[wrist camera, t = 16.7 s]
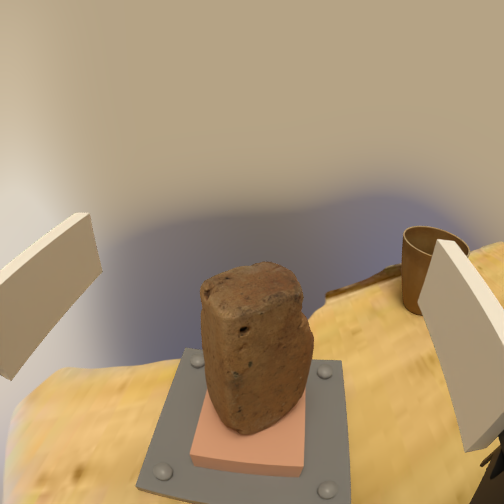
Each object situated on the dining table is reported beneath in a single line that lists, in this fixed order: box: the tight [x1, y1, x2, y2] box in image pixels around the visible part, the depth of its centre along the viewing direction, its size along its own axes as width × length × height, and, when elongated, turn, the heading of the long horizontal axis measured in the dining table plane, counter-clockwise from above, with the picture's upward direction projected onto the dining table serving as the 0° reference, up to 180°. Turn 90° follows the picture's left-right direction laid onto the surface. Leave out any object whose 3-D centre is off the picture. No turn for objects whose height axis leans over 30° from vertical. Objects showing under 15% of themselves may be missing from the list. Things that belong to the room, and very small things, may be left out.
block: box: [200, 262, 314, 435], centre depth 32 cm, size 11×8×20 cm
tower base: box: [136, 348, 351, 504], centre depth 38 cm, size 26×26×6 cm
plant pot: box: [402, 226, 470, 315], centre depth 59 cm, size 15×15×16 cm
